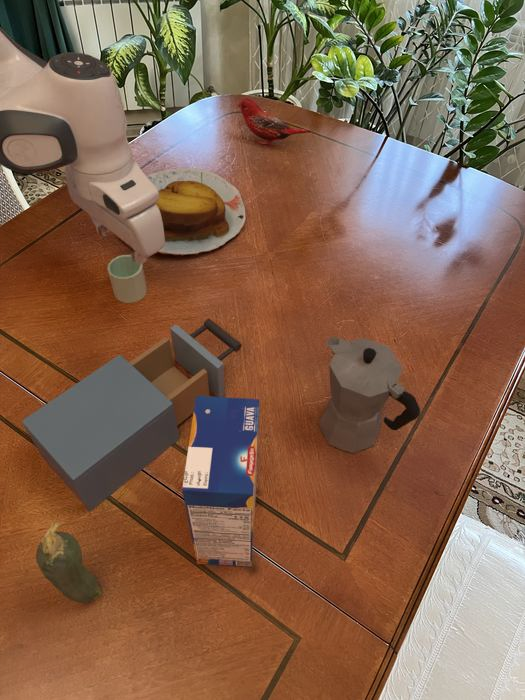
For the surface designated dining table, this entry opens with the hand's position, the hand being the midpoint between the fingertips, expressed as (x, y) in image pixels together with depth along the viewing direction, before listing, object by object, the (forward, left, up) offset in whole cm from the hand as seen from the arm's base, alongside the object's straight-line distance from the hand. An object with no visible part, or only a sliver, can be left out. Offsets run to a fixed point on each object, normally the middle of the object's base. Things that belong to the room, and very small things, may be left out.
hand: (122, 247), depth 93 cm
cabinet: (+23, -21, -10) cm, 33 cm away
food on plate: (-9, +20, -11) cm, 24 cm away
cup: (0, 0, -10) cm, 10 cm away
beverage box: (+43, -17, -11) cm, 47 cm away
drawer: (+23, -8, -9) cm, 26 cm away
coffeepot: (+46, +6, -11) cm, 47 cm away
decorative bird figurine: (-14, +51, -11) cm, 54 cm away
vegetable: (+37, -35, -11) cm, 52 cm away
